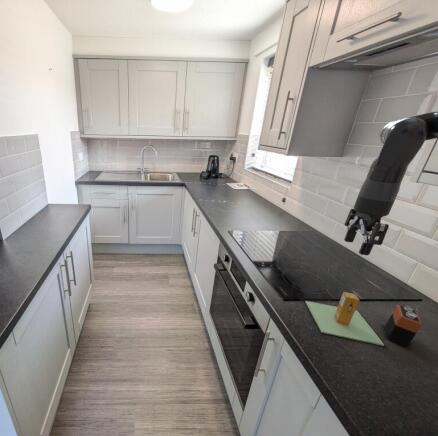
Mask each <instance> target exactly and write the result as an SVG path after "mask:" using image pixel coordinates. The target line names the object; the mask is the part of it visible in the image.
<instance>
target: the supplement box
mask: <svg viewBox="0 0 438 436" xmlns="http://www.w3.org/2000/svg"><path fill="white" fill-rule="evenodd" d="M340 297H341V298H340V300H339V302H338V305H337V306H336V307H337V310H336V312H335V315H334V317H335V319H336V321H337V322H338V323H342V324H346V325H349V324H350V321H351V319H352V317H353V314H354V312H355V310H356V311H357V307H358V306H359V303H360V298H358V295H356V294H355V293H351V292H347V291H343V292H342V294H341V296H340Z"/></svg>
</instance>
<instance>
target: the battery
mask: <svg viewBox="0 0 438 436" xmlns="http://www.w3.org/2000/svg"><path fill="white" fill-rule="evenodd" d="M384 326H385V331H386V336H387V339H388V340H390V341H391V342H394V343H397V344H399V345H401V346H404V347H409V346H410V344H411V342H412V341H413V340H414V338H415V336H416V335H417V333H418V332H419V330H420V328H421V327H422V326H423V323H422V321H421V318H420V316H419V313H418V311H417V310H415V309H414V308H413V307H411V306H408V305H405V306H404V305H401V304H396V306H395V307H394V309H393V311H392V312H391V315H390V316H389V318H388V320H387V322H386V323H385V325H384Z"/></svg>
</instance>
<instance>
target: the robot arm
mask: <svg viewBox="0 0 438 436" xmlns="http://www.w3.org/2000/svg"><path fill="white" fill-rule="evenodd" d="M378 138H379V142H380V143H381V144H382V147H381V149H380V152H379V154H378V156H377V158H375V159H373V161H372V162H371V165H370V167H369V169H368V171H367V174H366V177H365V179H364V181H363V182H362V184H361V187H360V189H359V192H358V194H357V197H356V200H355V202H354V205H353V208H350V210H349V212H348V215H347V217H346V220H345V222H344V227H346V230H347V231H346V234H345V236H344V239H343V240H344V242H345V243H353V242H354V241H355V238H356V236H357V234H358V231H359V230H360V234H361V236H362V238H363V241H362V243H361V246H360V247H359V250H358V254H360V255H361V256H370V254H371V252H372V250H373V248H374V246H375V245H376V246H382V245H383V243H384V239H385V237H386V234H387V233H388V230H389V227H390V225H389V224H388V223H382V222H381V221H382V218H383V217H387V216H389V215H390V213H391V211H392V208H393V206H394V204H395V201H396V199H397V198H398V195H399V192H400V188H401V184H402V182H403V180H404V178H405V175H406V173H407V171H408V168H409V165H410V164H411V162H413V160H414V159H415V158H416V156H417V154H418V153H419V152H420V150H421V149H422V147H423V145H424V144H425V142H426V141H430V140H434V139H438V110H436V111H431V112H426V113H421V114H416V115H411V116H407V117H403V118H399V119H396V120H393V121H390V122H389V123H387V124H385V126H384V127H383V128H382V129H381V130H380V131H379V135H378ZM377 237H378V238H377Z"/></svg>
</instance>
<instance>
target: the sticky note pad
mask: <svg viewBox="0 0 438 436" xmlns="http://www.w3.org/2000/svg"><path fill="white" fill-rule="evenodd" d="M305 304H306V306H307V309H308V310H309V312H310V314H311V316H312V318H313V320H314V322H315V324H316V326H317V327H318V329H319V331H320V334H321V333H322V334H327V335H329V336H335V337H340V338H344V339H349V340H354V341H358V342H363V343H366V344H367V343H368V344H372V345H377V346H382V347H385V343H383V341H382V340H381V339H380V337H379V336H378V335H377V334H376V332H375V331H374V329H373V328H372V327H371V326H370V325H369V324H368V322H367V321H366V320H365V318H364V317H363V316H362V315H361V313H360V312H359V311H358V310H357V309H356V310H355V312H354V314H353V317H352V319H351V321H350V324H349V325H346V324H342V323H338V322H337V321H336V319H335V317H334V315H335V312H336V310H337V307H338V306H335V305H330V304H324V303H318V302H315V301H309V300H305Z"/></svg>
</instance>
